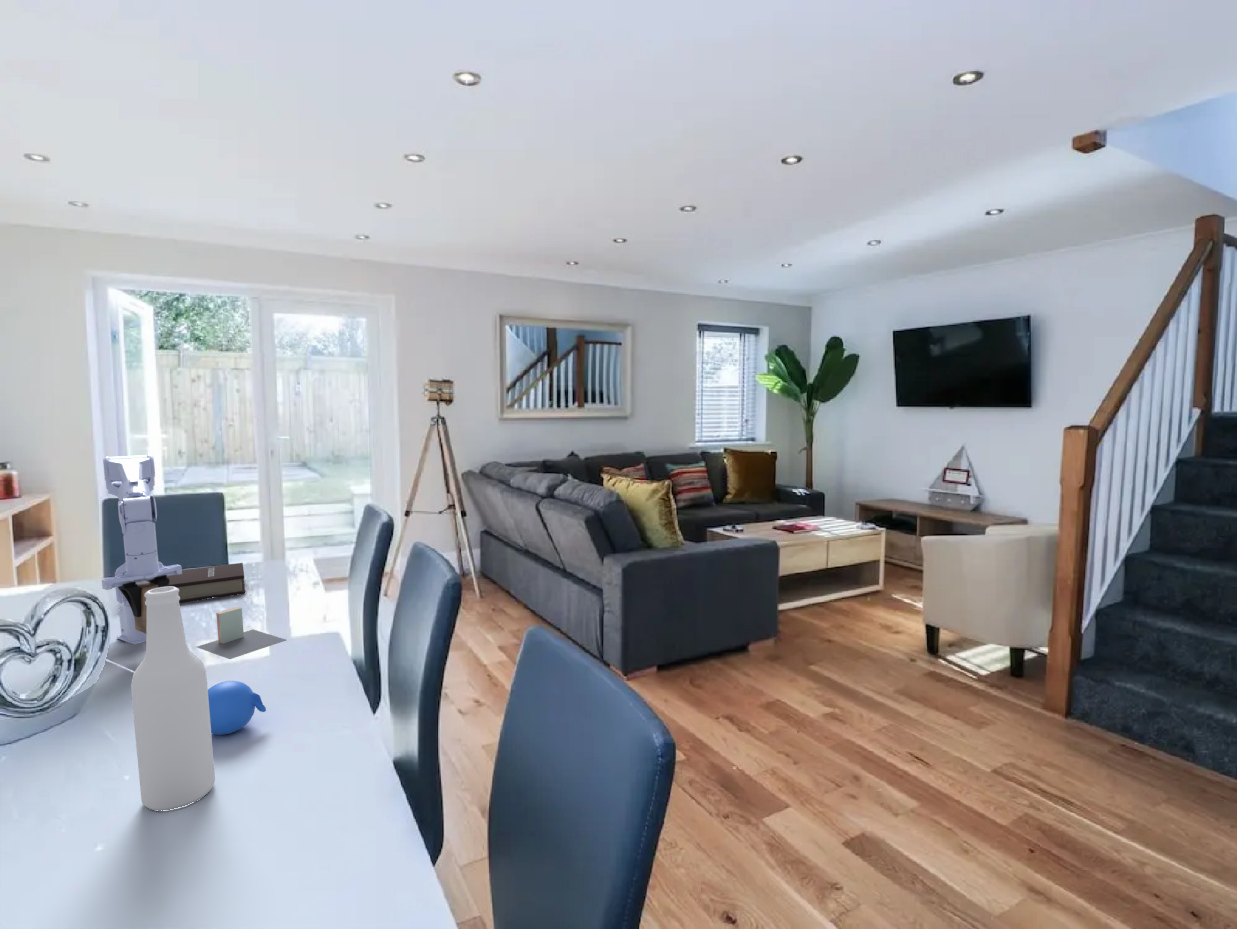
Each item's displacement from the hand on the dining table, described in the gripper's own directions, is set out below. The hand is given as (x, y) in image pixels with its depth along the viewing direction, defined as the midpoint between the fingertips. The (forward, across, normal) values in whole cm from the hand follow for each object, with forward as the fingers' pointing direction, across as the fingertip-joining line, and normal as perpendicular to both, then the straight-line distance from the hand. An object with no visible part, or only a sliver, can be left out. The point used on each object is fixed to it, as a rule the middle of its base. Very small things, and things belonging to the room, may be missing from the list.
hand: (146, 613), depth 146 cm
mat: (+10, +14, -10) cm, 20 cm away
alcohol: (+10, -22, -61) cm, 66 cm away
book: (+11, +29, +45) cm, 55 cm away
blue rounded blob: (+10, -7, -47) cm, 49 cm away
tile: (+10, +14, -6) cm, 18 cm away
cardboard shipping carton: (+3, 0, 0) cm, 4 cm away
